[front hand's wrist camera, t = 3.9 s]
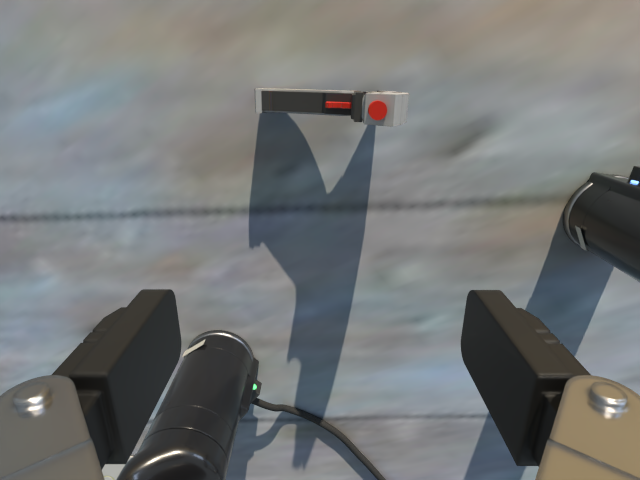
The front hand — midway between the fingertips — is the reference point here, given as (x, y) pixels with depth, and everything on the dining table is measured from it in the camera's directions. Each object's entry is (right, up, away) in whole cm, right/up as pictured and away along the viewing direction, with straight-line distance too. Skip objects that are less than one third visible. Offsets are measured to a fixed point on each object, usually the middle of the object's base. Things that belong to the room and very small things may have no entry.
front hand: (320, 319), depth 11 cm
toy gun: (+1, +18, +35) cm, 39 cm away
